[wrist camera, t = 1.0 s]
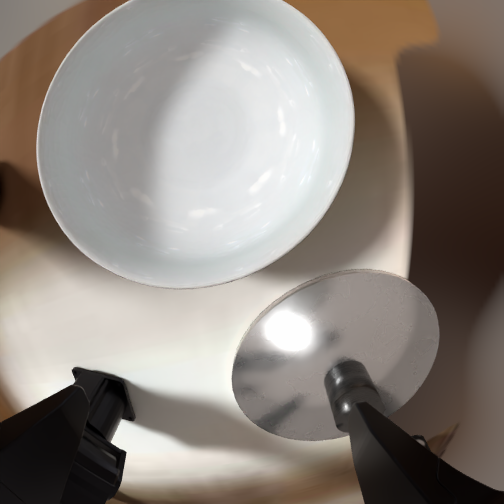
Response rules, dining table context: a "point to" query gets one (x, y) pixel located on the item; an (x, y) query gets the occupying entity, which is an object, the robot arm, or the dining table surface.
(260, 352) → the steel lid
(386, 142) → the dining table surface
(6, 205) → the dining table surface
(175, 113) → the cereal bowl
